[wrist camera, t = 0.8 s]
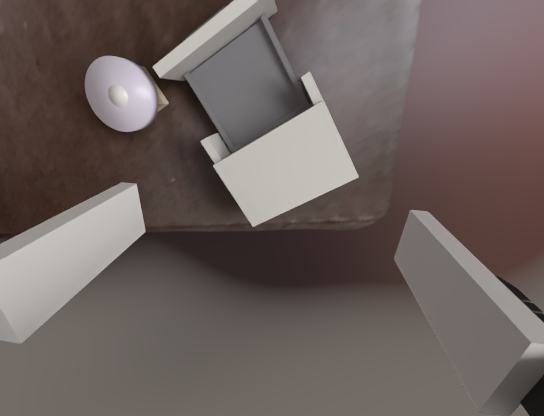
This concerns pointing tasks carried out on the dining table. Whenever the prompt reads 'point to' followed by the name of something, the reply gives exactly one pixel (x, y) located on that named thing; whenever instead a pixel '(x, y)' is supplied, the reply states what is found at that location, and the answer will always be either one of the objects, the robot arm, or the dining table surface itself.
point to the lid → (121, 93)
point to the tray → (238, 72)
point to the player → (285, 161)
